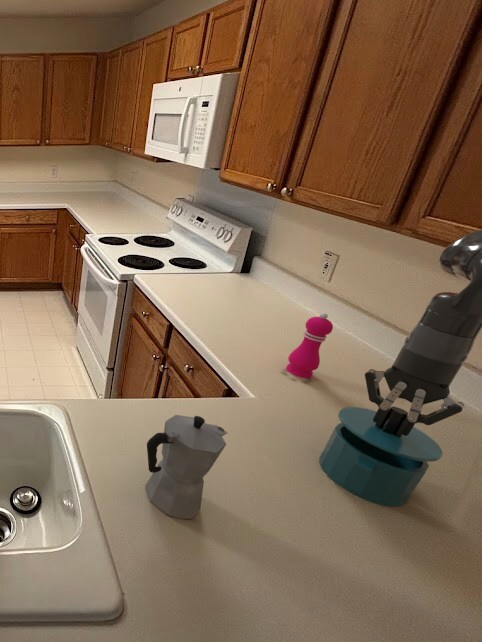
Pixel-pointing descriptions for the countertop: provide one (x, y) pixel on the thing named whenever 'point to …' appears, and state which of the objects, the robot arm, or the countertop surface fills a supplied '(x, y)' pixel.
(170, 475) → the coffeepot
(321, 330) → the pepper mill
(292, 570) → the countertop surface
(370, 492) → the pot
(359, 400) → the countertop surface
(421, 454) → the lid
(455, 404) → the robot arm
